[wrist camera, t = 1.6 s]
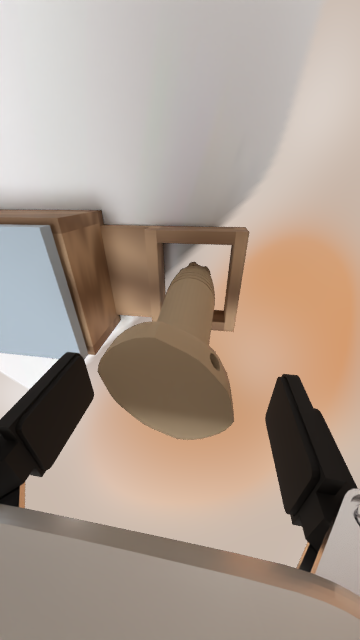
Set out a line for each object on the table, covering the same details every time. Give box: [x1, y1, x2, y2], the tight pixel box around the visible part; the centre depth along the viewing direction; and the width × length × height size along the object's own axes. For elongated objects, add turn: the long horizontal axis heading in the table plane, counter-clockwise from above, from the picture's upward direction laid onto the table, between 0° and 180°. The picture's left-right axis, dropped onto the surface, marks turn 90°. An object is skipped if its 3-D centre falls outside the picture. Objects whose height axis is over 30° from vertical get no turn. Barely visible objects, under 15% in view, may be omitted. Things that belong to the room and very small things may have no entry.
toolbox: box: [0, 210, 249, 355], centre depth 20 cm, size 12×33×6 cm, turn 91°
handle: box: [98, 262, 234, 440], centre depth 15 cm, size 5×6×15 cm
